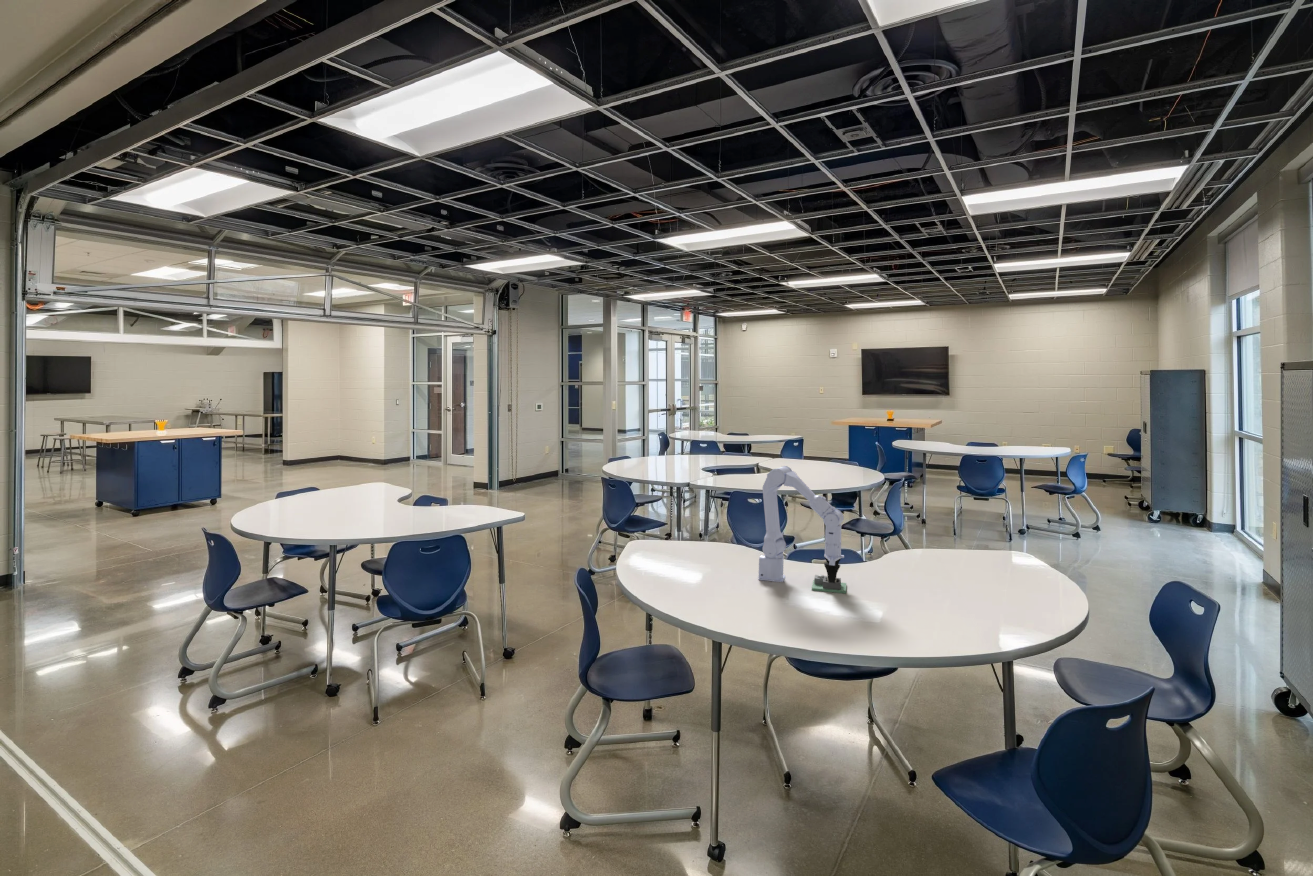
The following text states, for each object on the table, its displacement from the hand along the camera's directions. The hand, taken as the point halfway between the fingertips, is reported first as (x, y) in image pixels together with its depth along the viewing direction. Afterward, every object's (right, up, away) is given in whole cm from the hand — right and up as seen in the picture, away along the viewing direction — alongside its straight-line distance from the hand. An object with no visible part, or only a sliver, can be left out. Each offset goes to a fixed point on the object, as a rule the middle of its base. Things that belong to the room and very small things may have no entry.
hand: (832, 579), depth 228 cm
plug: (0, -3, 0) cm, 3 cm away
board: (-1, -4, +2) cm, 4 cm away
